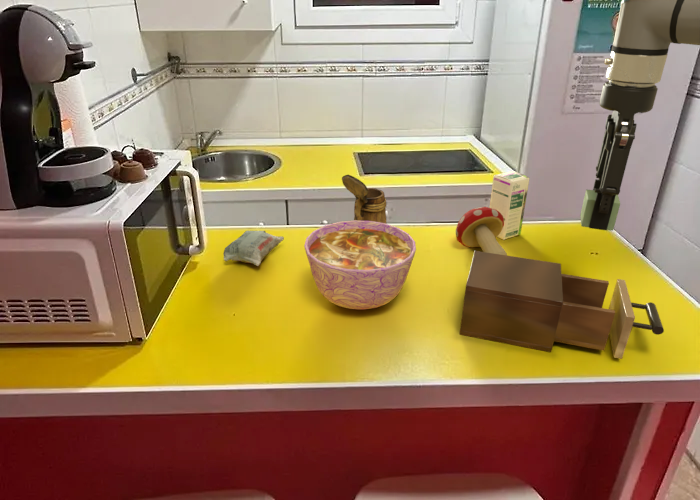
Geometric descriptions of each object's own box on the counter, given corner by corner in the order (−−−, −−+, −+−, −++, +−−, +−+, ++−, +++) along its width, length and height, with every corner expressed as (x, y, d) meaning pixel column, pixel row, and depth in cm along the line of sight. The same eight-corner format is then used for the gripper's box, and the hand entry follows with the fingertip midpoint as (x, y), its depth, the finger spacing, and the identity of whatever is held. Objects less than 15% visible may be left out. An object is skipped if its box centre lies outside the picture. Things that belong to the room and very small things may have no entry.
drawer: (644, 323, 90) (657, 285, 86) (657, 365, 80) (672, 324, 76) (532, 304, 95) (540, 266, 91) (531, 341, 85) (540, 301, 82)
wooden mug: (330, 247, 117) (330, 170, 108) (364, 226, 126) (366, 154, 118) (363, 258, 112) (365, 179, 104) (395, 235, 122) (399, 162, 113)
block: (610, 219, 91) (617, 192, 89) (613, 230, 87) (620, 203, 85) (580, 215, 93) (586, 189, 90) (581, 226, 89) (587, 199, 86)
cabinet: (550, 310, 95) (560, 263, 90) (551, 352, 84) (563, 301, 80) (468, 295, 99) (474, 250, 94) (459, 334, 88) (465, 285, 84)
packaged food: (284, 248, 116) (282, 228, 113) (259, 273, 106) (256, 252, 104) (249, 242, 118) (247, 222, 116) (221, 266, 108) (219, 245, 106)
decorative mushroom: (519, 238, 102) (488, 188, 111) (468, 264, 104) (442, 213, 114) (531, 265, 110) (500, 216, 120) (483, 288, 112) (457, 239, 122)
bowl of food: (340, 262, 110) (340, 212, 105) (428, 287, 102) (433, 234, 96) (284, 308, 95) (281, 252, 90) (382, 342, 86) (385, 283, 81)
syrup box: (503, 240, 120) (513, 181, 113) (485, 231, 124) (493, 173, 118) (520, 235, 123) (531, 176, 116) (501, 226, 127) (511, 169, 120)
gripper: (600, 72, 88) (572, 200, 98) (609, 91, 73) (575, 240, 83) (649, 75, 85) (615, 205, 96) (669, 95, 70) (626, 247, 81)
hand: (596, 221), depth 90 cm, fingers closed on block, 5 cm apart
